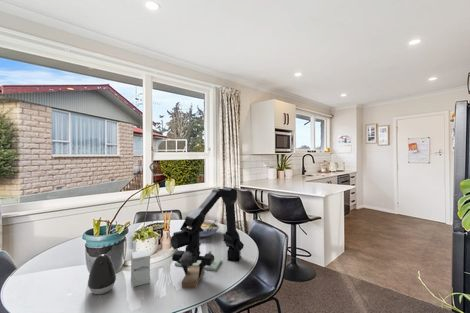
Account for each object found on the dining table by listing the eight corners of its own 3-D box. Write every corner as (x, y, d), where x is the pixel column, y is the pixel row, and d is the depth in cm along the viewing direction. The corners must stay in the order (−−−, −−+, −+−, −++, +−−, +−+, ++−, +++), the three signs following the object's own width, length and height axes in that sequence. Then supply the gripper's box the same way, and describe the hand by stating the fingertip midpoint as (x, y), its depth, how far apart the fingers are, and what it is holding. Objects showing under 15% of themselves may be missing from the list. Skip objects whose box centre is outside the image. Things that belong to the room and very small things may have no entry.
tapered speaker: (85, 301, 91) (85, 262, 91) (90, 286, 100) (90, 251, 100) (115, 294, 95) (115, 257, 95) (116, 281, 105) (116, 248, 104)
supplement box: (132, 287, 100) (132, 258, 100) (130, 279, 107) (130, 251, 106) (150, 283, 103) (150, 255, 103) (148, 275, 110) (148, 248, 110)
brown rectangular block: (191, 270, 116) (191, 264, 115) (203, 271, 115) (203, 265, 115) (181, 288, 101) (181, 281, 101) (195, 289, 100) (195, 282, 100)
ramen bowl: (193, 228, 177) (193, 217, 177) (223, 230, 174) (223, 219, 173) (181, 241, 152) (181, 228, 152) (215, 243, 149) (215, 230, 149)
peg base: (221, 261, 124) (221, 250, 124) (215, 270, 115) (215, 258, 115) (183, 256, 129) (183, 246, 129) (174, 265, 120) (174, 253, 120)
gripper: (165, 247, 102) (165, 282, 102) (206, 252, 97) (206, 288, 98) (177, 238, 113) (177, 269, 113) (214, 241, 108) (214, 275, 109)
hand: (193, 275), depth 108 cm, fingers closed on brown rectangular block, 6 cm apart
